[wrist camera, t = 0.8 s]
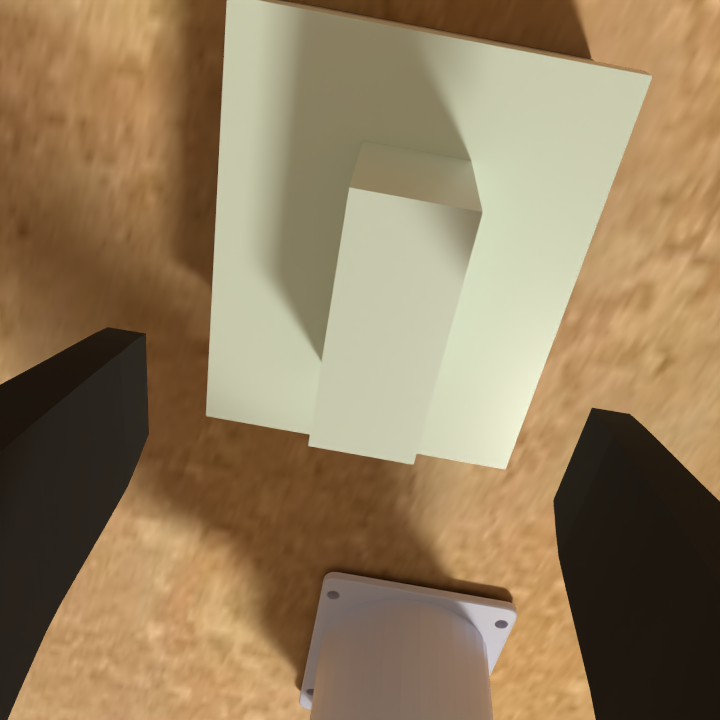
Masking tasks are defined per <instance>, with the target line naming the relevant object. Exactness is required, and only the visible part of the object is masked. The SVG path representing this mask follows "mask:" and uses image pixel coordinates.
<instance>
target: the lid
mask: <svg viewBox="0 0 720 720" xmlns="http://www.w3.org/2000/svg"><path fill="white" fill-rule="evenodd" d="M651 79H652V75H650V74H649V73H647V72H645V71H642V70H637V69H632V68H627V67H621V66H616V65H611V64H606V63H601V62H595V61H590V60H585V59H580V58H575V57H569V56H564V55H559V54H554V53H549V52H543V51H538V50H533V49H528V48H523V47H517V46H512V45H507V44H502V43H497V42H491V41H486V40H481V39H476V38H471V37H465V36H460V35H455V34H450V33H445V32H439V31H434V30H429V29H424V28H419V27H413V26H408V25H403V24H398V23H393V22H387V21H382V20H377V19H372V18H367V17H361V16H356V15H351V14H346V13H341V12H335V11H330V10H325V9H320V8H315V7H309V6H304V5H299V4H294V3H289V2H283V1H278V0H227V5H226V25H225V45H224V64H223V84H222V104H221V124H220V144H219V164H218V184H217V204H216V224H215V244H214V264H213V284H212V304H211V323H210V343H209V363H208V383H207V403H206V416H208V417H214V418H220V419H225V420H231V421H236V422H242V423H248V424H253V425H259V426H264V427H270V428H276V429H281V430H287V431H292V432H298V433H304V434H309V435H310V438H309V444H308V446H311V447H317V448H322V449H328V450H334V451H339V452H345V453H351V454H356V455H362V456H367V457H373V458H379V459H384V460H390V461H396V462H401V463H407V464H412V465H414V461H415V457H416V454H421V455H427V456H433V457H438V458H444V459H450V460H455V461H461V462H466V463H472V464H478V465H483V466H489V467H494V468H500V469H506V467H507V464H508V461H509V459H510V456H511V453H512V450H513V448H514V445H515V442H516V440H517V437H518V434H519V432H520V429H521V426H522V424H523V421H524V418H525V416H526V413H527V410H528V408H529V405H530V402H531V400H532V397H533V394H534V392H535V389H536V386H537V384H538V381H539V378H540V376H541V373H542V370H543V368H544V365H545V362H546V360H547V357H548V354H549V352H550V349H551V346H552V344H553V341H554V338H555V336H556V333H557V330H558V328H559V325H560V322H561V320H562V317H563V314H564V312H565V309H566V306H567V304H568V301H569V298H570V295H571V293H572V290H573V287H574V285H575V282H576V279H577V277H578V274H579V271H580V269H581V266H582V263H583V261H584V258H585V255H586V253H587V250H588V247H589V245H590V242H591V239H592V237H593V234H594V231H595V229H596V226H597V223H598V221H599V218H600V215H601V213H602V210H603V207H604V205H605V202H606V199H607V197H608V194H609V191H610V189H611V186H612V183H613V181H614V178H615V175H616V173H617V170H618V167H619V165H620V162H621V159H622V157H623V154H624V151H625V149H626V146H627V143H628V140H629V138H630V135H631V132H632V130H633V127H634V124H635V122H636V119H637V116H638V114H639V111H640V108H641V106H642V103H643V100H644V98H645V95H646V92H647V90H648V87H649V84H650V82H651Z"/></svg>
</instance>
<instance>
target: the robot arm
mask: <svg viewBox="0 0 720 720" xmlns="http://www.w3.org/2000/svg"><path fill="white" fill-rule="evenodd" d="M148 434H149V429H148V396H147V363H146V334H144V333H138V332H132V331H126V330H120V329H114V328H105V329H103V330H101V331H99V332H97V333H95V334H93V335H91V336H89V337H87V338H85V339H84V340H82V341H80V342H78V343H76V344H74V345H73V346H71V347H69V348H67V349H65V350H64V351H62V352H60V353H58V354H56V355H54V356H53V357H51V358H49V359H47V360H45V361H44V362H42V363H40V364H38V365H36V366H34V367H32V368H31V369H29V370H27V371H25V372H23V373H21V374H19V375H18V376H16V377H14V378H12V379H10V380H8V381H6V382H4V383H3V384H1V385H0V720H8V717H9V715H10V713H11V710H12V708H13V706H14V703H15V701H16V698H17V696H18V694H19V691H20V689H21V687H22V685H23V682H24V680H25V678H26V676H27V673H28V671H29V669H30V667H31V664H32V662H33V660H34V658H35V656H36V653H37V651H38V649H39V647H40V644H41V642H42V640H43V638H44V635H45V633H46V631H47V629H48V627H49V625H50V623H51V621H52V619H53V617H54V616H55V614H56V612H57V610H58V608H59V606H60V604H61V602H62V600H63V599H64V597H65V595H66V594H67V592H68V590H69V588H70V587H71V585H72V583H73V581H74V580H75V578H76V576H77V574H78V573H79V571H80V569H81V567H82V566H83V564H84V562H85V561H86V559H87V557H88V555H89V554H90V552H91V550H92V548H93V547H94V545H95V543H96V541H97V540H98V538H99V536H100V534H101V533H102V531H103V529H104V528H105V526H106V524H107V522H108V520H109V519H110V517H111V515H112V513H113V512H114V510H115V508H116V506H117V505H118V503H119V501H120V499H121V497H122V496H123V494H124V492H125V490H126V488H127V487H128V484H129V482H130V479H131V477H132V475H133V472H134V470H135V467H136V465H137V463H138V460H139V458H140V455H141V452H142V450H143V447H144V445H145V442H146V439H147V437H148ZM554 513H555V526H556V537H557V546H558V555H559V560H560V565H561V569H562V574H563V578H564V583H565V587H566V591H567V596H568V600H569V604H570V608H571V612H572V617H573V621H574V625H575V629H576V633H577V637H578V641H579V646H580V650H581V654H582V658H583V662H584V666H585V671H586V675H587V679H588V683H589V687H590V692H591V697H592V702H593V707H594V713H595V718H596V720H720V501H719V500H718V499H717V498H716V497H715V496H713V495H712V494H711V493H710V492H709V491H708V490H707V489H706V488H705V487H704V486H703V485H702V484H701V483H700V482H699V481H698V480H697V479H696V478H695V477H694V476H693V475H692V474H691V473H690V472H689V471H688V470H687V469H686V468H685V467H684V466H683V465H682V464H681V463H680V462H679V461H678V460H677V459H676V458H675V457H674V456H673V455H672V454H671V453H670V452H669V451H668V450H667V449H666V448H665V447H664V446H663V445H662V444H661V443H660V442H659V441H658V440H657V439H656V438H655V437H654V436H653V435H652V434H651V433H650V432H649V431H648V430H647V429H646V428H645V427H644V426H643V425H642V424H641V423H639V422H638V421H637V420H636V419H635V418H634V417H633V416H631V415H630V414H626V413H620V412H614V411H608V410H602V409H596V408H592V409H591V411H590V414H589V416H588V419H587V421H586V423H585V426H584V428H583V431H582V433H581V436H580V438H579V440H578V443H577V445H576V448H575V450H574V452H573V455H572V457H571V460H570V462H569V464H568V467H567V469H566V472H565V474H564V476H563V479H562V481H561V484H560V486H559V488H558V491H557V493H556V496H555V498H554ZM516 618H517V611H516V607H515V605H513V604H512V603H510V602H507V601H501V600H495V599H490V598H484V597H478V596H472V595H467V594H461V593H455V592H449V591H444V590H438V589H432V588H426V587H421V586H415V585H409V584H403V583H398V582H392V581H386V580H380V579H375V578H369V577H363V576H357V575H352V574H346V573H340V572H331V573H328V574H326V575H325V577H324V580H323V584H322V589H321V594H320V599H319V604H318V609H317V614H316V619H315V624H314V629H313V634H312V639H311V644H310V648H309V653H308V658H307V663H306V668H305V673H304V678H303V683H302V688H301V693H300V698H299V704H300V705H301V706H302V707H303V708H305V709H309V710H311V714H310V720H493V712H492V701H491V690H490V679H489V677H490V675H491V673H492V670H493V668H494V666H495V664H496V662H497V659H498V657H499V655H500V653H501V651H502V649H503V646H504V644H505V642H506V640H507V638H508V635H509V633H510V631H511V629H512V627H513V625H514V622H515V620H516Z"/></svg>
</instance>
